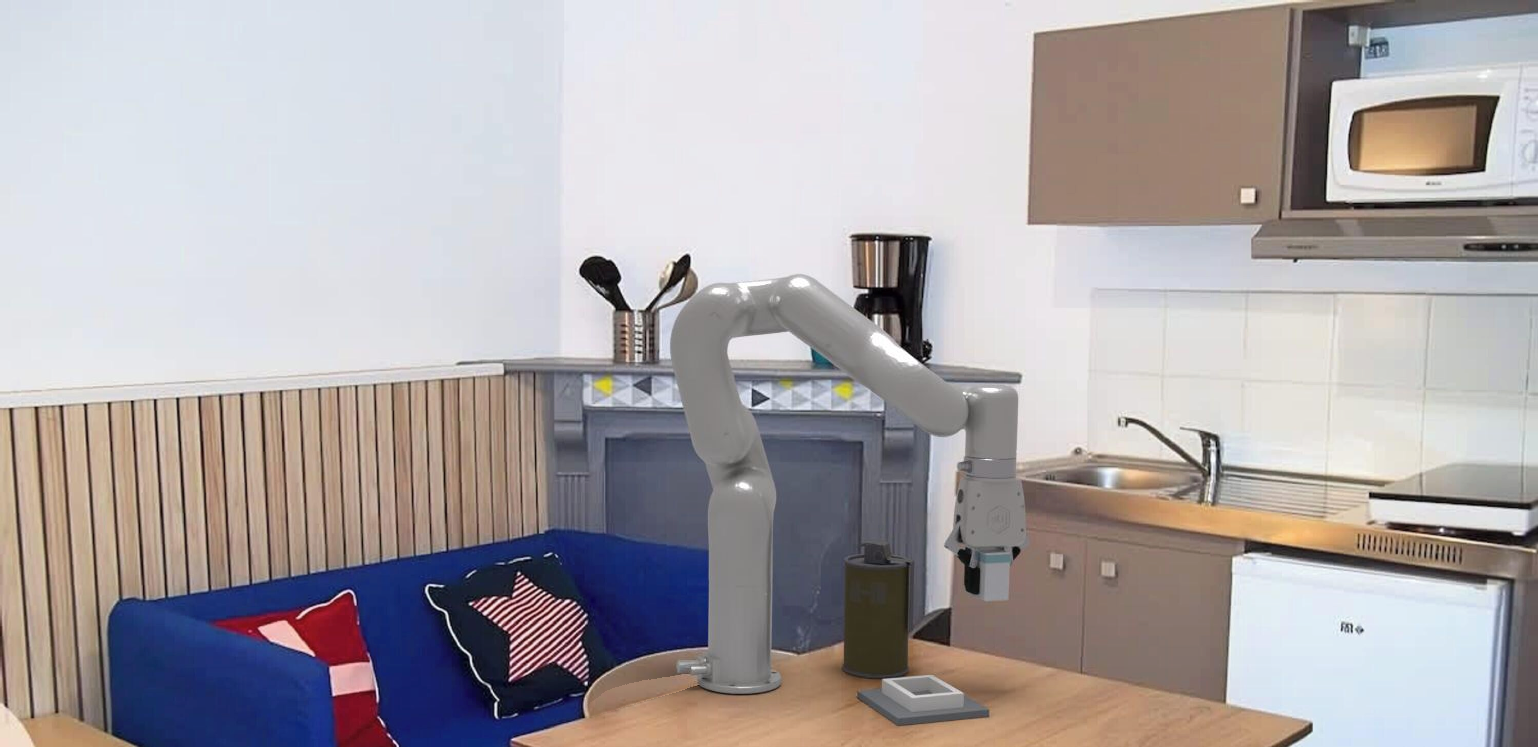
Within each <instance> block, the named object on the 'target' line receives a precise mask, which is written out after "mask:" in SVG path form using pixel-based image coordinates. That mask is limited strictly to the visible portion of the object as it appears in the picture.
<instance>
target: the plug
mask: <svg viewBox="0 0 1538 747" xmlns="http://www.w3.org/2000/svg"><path fill="white" fill-rule="evenodd" d="M1010 556H1011V554H1010V552H1007V551H1004V550H1001V549H998V548H980V553H979V558H978V563H977V567H978V568H980V590H979V594H978V595H974V594H971V593H969V592H967V591H966V589H965V588H964V594H966V595H969V596H971V597H973V598H975V599H978V600H980V601H983V602H996V601H997V602H998V601H1009V598H1010V597H1009V596H1010V595H1009V594H1010V593H1009V592H1010V591H1009V590H1010V572H1011V571H1010V568H1011V566H1010Z"/></svg>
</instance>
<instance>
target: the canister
mask: <svg viewBox="0 0 1538 747" xmlns="http://www.w3.org/2000/svg"><path fill="white" fill-rule="evenodd" d="M859 547H860V548H861V547H862V548H863V547H864V548H863V550H864V552H863V553H859V554H853V555H852V554H851V555H847V556H846V557H844V560H843V562H844V608H843V610H844V611H843V612H844V613H843V615H844V618H843V664H842V665H841V668H842V671H843V672H845V673H846V674H848V675H852V676H855V677H859V678H867V679H881V680H882V679H889V678H899V677H902V676H905V675H906V674H908V672H909V671H910V668H909V665H908V664H909V663H908V662H909V633H911V632H912V631H913V629H914V601H915V600H914V596H915V595H914V594H915V593H914V592H915V560H914V559H910V558H908V557H905V556H901V555H896V554H892V551H891V543H890V542H889V541H875V540H866V541H864V542H862V543H861V544H859Z"/></svg>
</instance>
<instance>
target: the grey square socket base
mask: <svg viewBox="0 0 1538 747" xmlns="http://www.w3.org/2000/svg"><path fill="white" fill-rule="evenodd" d="M856 698H857V699H858V700H860V701H862V702H863V703H864V704H866V705H867V706H869V707H870V708H872V709H873V710H875V711H876V712H877V713H879V714H881V715H882V716H884V717H885V718H886V719H888V720H889V721H891V722H892V723H894V724H895V725H896V726H909V725H918V724H929V723H939V722H947V721H948V722H949V721H958V720H959V721H960V720H968V719H979V718H987V717H989V718H990V709H989V708H987V706H984V705H982V704H980V703H979V702H977V701H975V699H974V700H973V699H972V698H970V697H969V696H967V695H965V693H964V692H962V691H961V690H959V689H958V688H957V687H956V688H955V687H953V685H950V684H948V683H947V682H945V681H943V680H942V679H940V678H938V677H937V676H935V675H933V674H927V675H926V674H925V675H914V676H903V677H902V676H900V677H895V678H884V679H881V688H872V689H861V690H856Z"/></svg>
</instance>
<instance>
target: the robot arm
mask: <svg viewBox="0 0 1538 747" xmlns="http://www.w3.org/2000/svg"><path fill="white" fill-rule="evenodd" d="M675 318H676V319H675V320H674V323H673V325H672V329H671V332H670V333H671V334H670V339H669V352H670V360H671V366H672V370H673V372H674V373H673V374H674V377H675V381H676V384H677V389H678V392H679V397H680V402H681V404H682V408H683V411H684V412H683V413H684V415H685V420H686V423H687V426H688V430H689V433H690V439H691V443H692V447H693V449H694V452H695V453H696V455H698V458H700V460H702V461H703V462H704V464H705V466H706V467H705V468H706V470H707V471H706V472H707V474H708V479H710V480H709V481H710V483H711V488H712V490H713V491H712V493H711V494H710V497H709V502H708V506H707V507H708V508H707V530H708V532H707V535H708V537H707V538H708V629H707V630H708V637H707V638H708V639H707V644H708V645H707V646H708V647H707V650H703V651H702V652H701V654H702V655H701V656H697V657H696V659H689V658H688V659H678V660H677V661H676V664H675V665H676V666H675V667H676V672H677V674H685V673H687V674H688V673H689V676H697V678H696V679H697V684H698V685H699V686H700V687H701V688H703V689H705V690H708V691H710V692H711V691H712V692H715V693H716V692H717V693H723V694H735V695H737V694H740V695H746V694H749V695H750V694H759V693H765V692H768V691H772V690H776V689H777V688H778V687H779V686H781V685H782V675H781V673H780V672H778V670H777V671H776V670H775V669H772V638H773V637H772V635H773V634H772V631H773V630H772V628H773V627H772V626H773V561H774V560H773V559H774V558H773V556H774V555H773V553H774V551H773V549H774V548H773V545H774V542H773V541H774V538H773V537H774V536H773V534H774V531H773V528H774V512H775V510H776V509H775V508H776V505H777V489H776V485H775V480H774V477H773V474H772V472H771V468H770V465H769V460H768V458H767V454H766V450H765V448H764V447H765V446H764V443H763V440H762V436H761V433H760V431H759V428H758V424H757V421H756V419H755V417H754V414H753V413H752V412H751V411H750V410H749V408H747V407H746V406H745V404H743V403H742V400H741V397H740V393H739V390H738V388H737V385H736V379H735V375H734V372H733V368H732V366H731V362H730V359H729V354H728V347H729V344H730V341H731V340H732V339H736V338H743V337H750V336H762V335H771V334H781V333H787V332H789V333H790V334H792V335H793V336H795V337H796V338H797V339H799V340H800V341H801V342H803V343H804V344H805V345H807V347H809V348H811V349H812V350H814V351H815V352H816V353H817V354H819V355H820V356H822V357H823V358H825V359H826V360H827V361H828V362H830V363H831V364H832V365H833V366H835V368H837V369H839V370H840V371H842V372H843V373H844V374H845V375H847V376H848V377H849V378H850V379H852V380H854V382H855V383H857V384H859V385H861V386H863V387H864V388H866V389H868V391H870V392H872V393H873V394H875V395H876V396H877V397H879V398H880V399H881V400H883V401H884V402H885V403H886V404H888V405H890V407H892V408H894V409H895V410H896V411H898V412H899V413H900V414H901V415H903V416H904V417H905V418H907V419H908V420H909V421H911V422H912V423H913V424H915V425H916V426H917V427H919V429H922V430H923V431H924V432H926V433H928V434H929V435H931V436H934V437H937V438H948V437H952V436H954V435H955V434H958V433H959V432H960V431H961V430H964V431H965V442H964V446H965V448H964V456H963V461H959V462H957V464H956V468H957V471H958V472H962V473H963V474H964V475H963V476H964V477H963V476H961V477H960V478H959V482H958V487H957V491H956V497H955V503H954V512H953V521H952V522H953V523H952V530H951V532H950V533H949V536H948V537H947V538H946V540H945V542H944V543H943V546H944V548H945V549H946V550H948V551H949V552H950V553H952V554H954V555H955V556H956V557H957V559H958V560H959V561H960V563H961V564H962V565H964V567H963V568H964V575H963V586H964V590H965V589H966V591H967V592H969V593H971V594H974V595H978V594H979V590H980V568H978V567H977V563H978V558H979V553H980V548H998V549H1001V550H1004V551H1007V552H1010V554H1011V556H1010V567H1011V566H1012V565H1014V562H1015V559H1017V557H1018V556H1019V555H1020V554H1021V552H1022V551H1024V550H1025V549H1026V548H1028V547H1029V546H1030V545H1031V542H1032V541H1031V539H1030V538H1029V536H1028V534H1027V533H1026V532H1027V526H1026V525H1027V524H1026V523H1027V522H1026V520H1027V517H1026V503H1025V494H1024V489H1023V484H1022V483H1023V482H1022V479H1021V478H1019V477H1017V457H1018V456H1017V452H1018V451H1017V450H1018V425H1019V422H1018V421H1019V420H1018V418H1019V417H1018V416H1019V394H1018V391H1017V390H1016V389H1015V388H1014V387H1012V386H1007V385H1001V384H1000V385H999V384H977V385H974V386H973V385H966V384H958V383H951V382H947V381H946V380H944V379H943V378H942V377H940V376H938V375H937V373H935V372H933V371H932V370H931V369H929V368H928V367H926V366H925V365H924V364H922V363H921V362H920V361H919V360H918V359H917V358H915V357H914V356H912V355H911V354H910V353H909V352H907V351H906V350H905V349H904V348H903V347H901V345H899V343H898V342H896V341H895V339H893V337H892V336H891V335H890V334H889V333H888V332H886V331H885V330H884V329H883V328H881V326H879V325H878V324H877V323H875V322H874V321H872V320H871V319H869V318H868V317H866V316H865V315H864V314H863V313H861V312H860V311H858V310H857V309H856V308H855V307H853V306H852V305H850V304H849V303H848V302H847V301H845V300H843V299H842V298H841V297H840V296H838V295H837V294H835V293H834V292H833V291H832V290H830V289H829V288H828V287H826V286H825V285H824V284H822V283H821V282H819V281H818V280H817V279H815V278H814V277H812V276H810V275H808V274H802V273H798V274H797V273H795V274H791V275H788V276H784V277H777V278H767V279H761V280H760V279H759V280H752V281H739V282H715V283H712V284H710V285H709V284H708V285H707V286H705V287H703V288H702V289H699V291H698V292H697V293H695V294H694V295H693V296H692V297H691V298H690V299H689V300H688V301H687V302H686V303H685V304H684V305H683V307H682V308H681V310H680V311H679V313H678V314H677V316H676V317H675ZM959 544H964V545H963V548H962V547H961V546H960V545H959Z"/></svg>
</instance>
